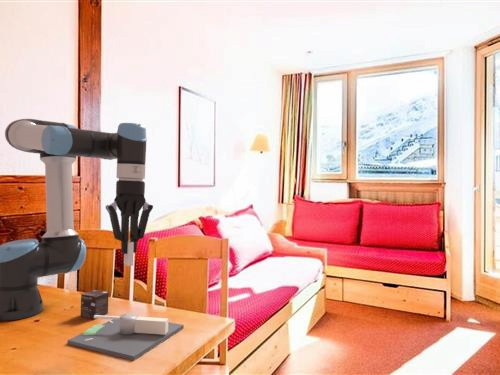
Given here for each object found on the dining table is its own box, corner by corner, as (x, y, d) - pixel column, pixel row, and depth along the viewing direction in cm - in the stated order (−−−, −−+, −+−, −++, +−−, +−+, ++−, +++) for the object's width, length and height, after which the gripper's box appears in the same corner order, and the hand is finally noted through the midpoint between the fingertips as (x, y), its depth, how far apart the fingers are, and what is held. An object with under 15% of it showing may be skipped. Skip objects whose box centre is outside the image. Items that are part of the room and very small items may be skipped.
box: (79, 317, 116) (80, 294, 116) (94, 311, 122) (94, 289, 122) (94, 320, 114) (94, 296, 114) (108, 313, 119) (109, 291, 119)
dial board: (64, 343, 97) (64, 338, 97) (123, 316, 118) (123, 312, 118) (134, 360, 88) (134, 355, 88) (184, 327, 109) (184, 323, 109)
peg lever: (89, 332, 101) (89, 317, 101) (98, 325, 106) (99, 311, 106) (163, 337, 99) (163, 322, 99) (169, 330, 104) (169, 316, 104)
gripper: (112, 179, 93) (110, 271, 93) (158, 180, 102) (156, 264, 102) (101, 179, 99) (99, 265, 99) (146, 180, 107) (144, 259, 108)
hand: (128, 264), depth 101 cm, fingers closed
